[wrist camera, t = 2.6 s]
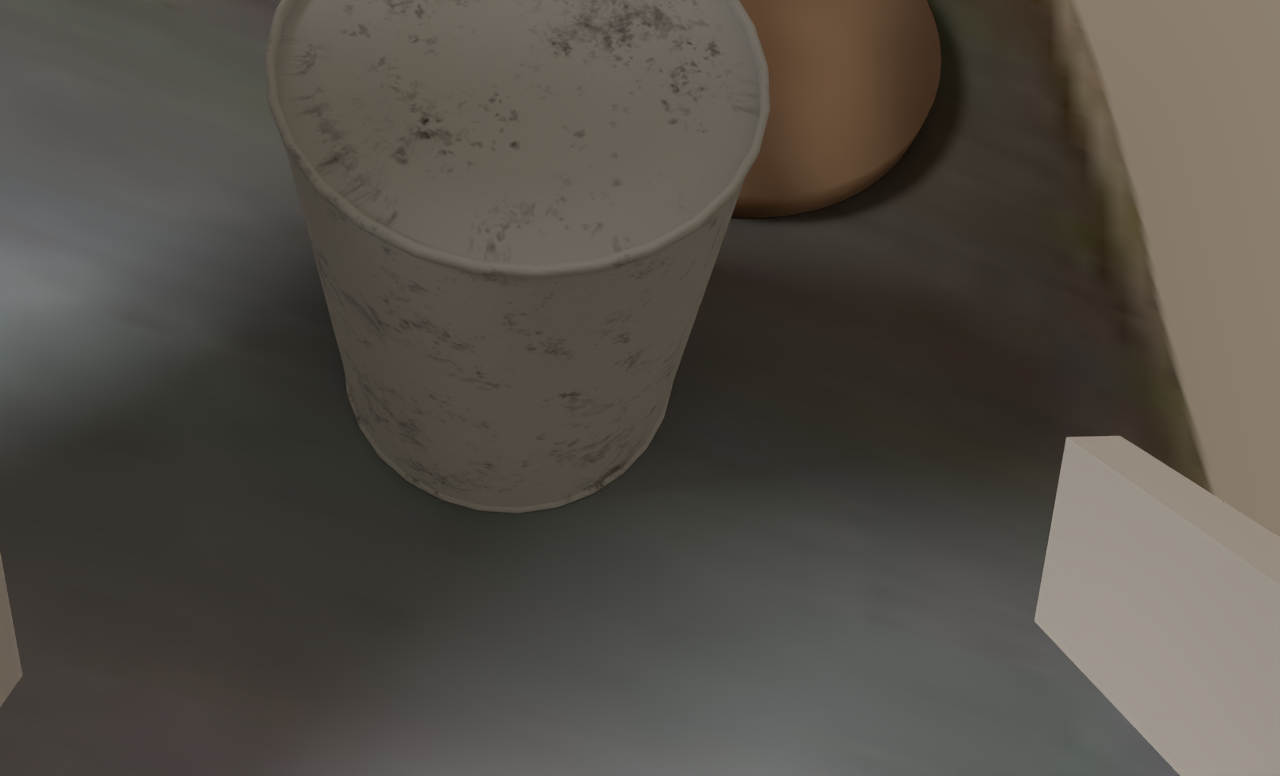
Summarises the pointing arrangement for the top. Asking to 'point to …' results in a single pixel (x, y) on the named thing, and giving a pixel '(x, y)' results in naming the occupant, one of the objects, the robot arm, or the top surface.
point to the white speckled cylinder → (515, 220)
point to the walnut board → (837, 98)
